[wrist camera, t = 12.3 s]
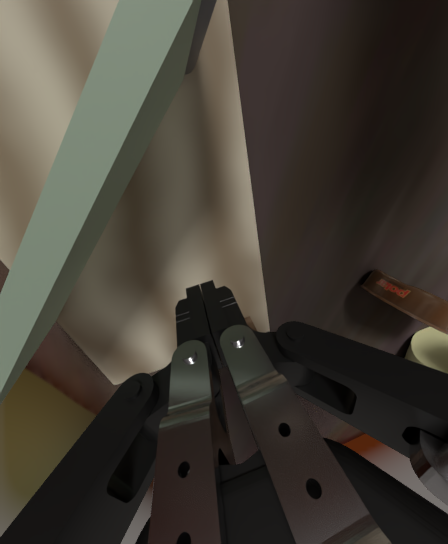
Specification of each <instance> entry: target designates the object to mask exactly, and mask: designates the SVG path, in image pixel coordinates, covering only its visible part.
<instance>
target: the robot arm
mask: <svg viewBox="0 0 448 544" xmlns="http://www.w3.org/2000/svg"><path fill="white" fill-rule="evenodd" d="M200 287H201V288H200ZM186 295H187V298H185V299H182V300H179V301H178V303H177V305H176V307H175V314H176V334H177V349H176V350H175V351H174V353H173V356H172V361H171V362H170V363H169V364H168V365H167V366H166V367H165V368H164V369H162V370H161V371H159V372H158V373H156V374H155V375H153V376H152V377H151V376H150V375H149V374H147V373H138V374H135V375H133V376H131V377H129V378H128V379H127V380H126V381H125V382H123V384H122V385H121V386H120V387H119V388H118V390H117V391H116V392H115V393H114V395H113V396H112V397H111V398H110V400H109V401H108V402H107V403H106V405H105V406H104V407H103V408H102V410H101V411H100V412H99V414H98V415H97V416H96V417H95V419H94V420H93V421H92V422H91V424H90V425H89V426H88V428H87V429H86V430H85V431H84V432H83V434H82V435H81V436H80V438H79V439H78V440H77V441H76V443H75V444H74V445H73V446H72V448H71V449H70V450H69V452H68V453H67V454H66V455H65V457H64V458H63V459H62V460H61V462H60V463H59V464H58V465H57V467H56V468H55V469H54V470H53V472H52V473H51V474H50V475H49V477H48V478H47V479H46V480H45V482H44V483H43V484H42V485H41V487H40V488H39V489H38V491H37V492H36V493H35V494H34V496H33V497H32V498H31V499H30V501H29V502H28V503H27V505H26V506H25V507H24V508H23V509H22V511H21V512H20V513H19V515H18V516H17V517H16V518H15V520H14V521H13V522H12V523H11V525H10V526H9V527H8V528H7V530H6V531H5V532H4V533H3V535H2V536H1V537H0V544H120V543H121V541H122V539H123V537H124V535H125V533H126V531H127V529H128V527H129V526H130V524H131V521H132V520H133V518H134V516H135V514H136V512H137V510H138V508H139V506H140V504H141V502H142V500H143V498H144V496H145V494H146V492H147V490H148V488H149V486H150V484H151V482H152V480H153V478H154V485H153V496H152V506H151V516H150V518H149V519H148V521H147V522H146V524H145V526H144V528H143V530H142V531H141V533H140V535H139V537H138V539H137V542H136V543H135V544H448V514H447V513H446V512H444V511H443V510H441V509H440V508H438V507H437V506H435V505H434V504H432V503H431V502H429V501H428V500H426V499H425V498H423V497H422V496H420V495H419V494H417V493H416V492H414V491H413V490H411V489H410V488H408V487H407V486H405V485H404V484H402V483H401V482H399V481H398V480H396V479H395V478H393V477H392V476H390V475H389V474H387V473H386V472H384V471H382V470H381V469H380V468H378V467H377V466H375V465H374V464H372V463H371V462H369V461H368V460H366V459H365V458H364V457H362V456H361V455H359V454H358V453H356V452H355V451H353V450H351V449H350V448H348V447H346V446H344V445H342V444H340V443H338V442H335V441H333V440H330V439H327V438H323V437H322V436H321V434H320V432H319V431H318V429H317V427H316V426H315V424H314V423H313V421H312V419H311V418H310V416H309V415H308V413H307V411H306V410H305V408H304V406H303V405H302V403H301V402H300V400H299V398H298V397H297V395H299V396H301V397H303V398H304V399H306V400H308V401H310V402H311V403H313V404H315V405H317V406H319V407H320V408H322V409H324V410H326V411H327V412H329V413H331V414H333V415H334V416H336V417H338V418H340V419H341V420H343V421H345V422H347V423H348V424H350V425H352V426H354V427H355V428H357V429H359V430H361V431H362V432H364V433H366V434H368V435H370V436H371V437H373V438H375V439H376V440H378V441H380V442H382V443H383V444H385V445H387V446H389V447H391V448H392V449H394V450H396V451H398V452H399V453H401V454H403V455H405V456H406V457H408V458H410V462H411V465H412V468H413V470H414V472H415V474H416V475H417V477H418V478H419V480H420V481H421V482H422V483H423V485H424V486H425V487H426V488H427V489H428V490H429V491H430V492H431V493H432V494H433V495H434V496H436V497H437V498H438V499H440V500H441V501H442V502H444V503H445V504H446V505H448V373H445V372H442V371H439V370H436V369H433V368H430V367H428V366H425V365H422V364H419V363H416V362H413V361H410V360H408V359H405V358H402V357H399V356H396V355H393V354H390V353H387V352H385V351H382V350H379V349H376V348H373V347H370V346H367V345H365V344H362V343H359V342H356V341H353V340H350V339H347V338H345V337H342V336H339V335H336V334H333V333H330V332H327V331H325V330H322V329H319V328H316V327H313V326H310V325H307V324H304V323H301V322H296V321H292V322H287V323H284V324H283V325H281V326H280V327H279V328H278V330H277V332H267V333H263V332H258V331H255V330H253V329H251V328H250V327H249V326H248V325H247V323H246V321H245V319H244V317H243V314H242V312H241V310H240V308H239V306H238V304H237V301H236V299H235V298H234V295H233V293H232V291H231V290H230V289H229V288H228V287H226V286H222V287H219V288H215V285H214V282H213V280H211V281H207V282H204V283H201V284H200V286H199V284H198V285H195V286H192V287H189V288H186ZM220 356H221V358H220ZM221 359H222V362H223V365H224V367H226V366H228V369H229V371H230V374H231V377H232V380H233V383H234V386H235V389H236V391H237V394H238V397H239V399H240V402H241V405H242V407H243V410H244V413H245V415H246V418H247V421H248V423H249V426H250V429H251V432H252V434H253V437H254V440H255V443H256V445H257V448H258V451H257V452H256V453H255V454H254V455H252V456H251V457H250V458H249V459H248V460H246V461H245V462H244V463H242V464H237V465H236V462H235V457H234V452H233V448H232V444H231V441H230V436H229V430H228V424H227V417H226V411H225V404H224V398H223V391H222V386H221V380H220V375H219V371H218V369H221V368H223V366H222V362H221ZM295 393H296V394H297V395H296V394H295Z"/></svg>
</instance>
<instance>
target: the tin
mask: <svg viewBox="0 0 448 544" xmlns="http://www.w3.org/2000/svg"><path fill="white" fill-rule="evenodd" d="M360 287H361V288H363V289H364V290H366V291H367V292H369V293H370V294H372V295H374V296H375V297H377V298H379V299H380V300H382V301H384V302H386V303H387V304H389V305H391V306H393V307H395V308H396V309H398V310H400V311H402V312H403V313H405V314H407V315H409V316H411V317H412V318H414V319H416V320H418V321H420V322H422V323H424V324H426V325H428V326H430V327H432V328H434V329H436V330H438V331H440V332H443V333H445V334H447V335H448V301H446V300H443V299H441V298H439V297H437V296H435V295H433V294H431V293H428V292H426V291H424V290H422V289H419V288H416V287H413V286H409V285H406V284H404V283H402V282H400V281H399V280H397V279H395V278H393V277H391V276H389V275H387V274H385V273H384V272H382V271H380V270H377V269H376V270H374V271H373V272H372V273H371V274H370V276H369V277H368V278H367V279H366V281H365V282H364V283H363V285H361V286H360Z"/></svg>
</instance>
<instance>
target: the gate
mask: <svg viewBox="0 0 448 544" xmlns="http://www.w3.org/2000/svg"><path fill="white" fill-rule="evenodd" d="M216 1H217V0H119V2H118V4H117V7H116V9H115V12H114V14H113V16H112V19H111V21H110V24H109V26H108V29H107V31H106V34H105V36H104V39H103V41H102V44H101V46H100V49H99V51H98V54H97V56H96V59H95V61H94V64H93V66H92V68H91V71H90V73H89V76H88V78H87V81H86V83H85V86H84V88H83V91H82V93H81V96H80V98H79V101H78V103H77V106H76V108H75V111H74V113H73V116H72V118H71V120H70V123H69V125H68V128H67V130H66V133H65V135H64V138H63V140H62V143H61V145H60V148H59V150H58V153H57V155H56V158H55V160H54V163H53V165H52V168H51V170H50V172H49V175H48V177H47V180H46V182H45V185H44V187H43V190H42V192H41V195H40V197H39V200H38V202H37V205H36V207H35V210H34V212H33V215H32V217H31V220H30V222H29V224H28V227H27V229H26V232H25V234H24V237H23V239H22V242H21V244H20V247H19V249H18V252H17V254H16V257H15V259H14V262H13V264H12V267H11V269H10V272H9V274H8V276H7V279H6V281H5V284H4V286H3V289H2V291H1V294H0V404H1V403H2V401H3V400H4V398H5V397H6V395H7V394H8V392H9V391H10V389H11V388H12V386H13V385H14V383H15V382H16V380H17V379H18V377H19V376H20V374H21V372H22V371H23V370H24V368H25V367H26V365H27V364H28V362H29V361H30V359H31V358H32V356H33V355H34V353H35V352H36V350H37V349H38V347H39V346H40V344H41V343H42V341H43V340H44V338H45V337H46V335H47V334H48V332H49V331H50V329H51V328H52V326H53V325H54V323H55V322H56V320H57V318H58V316H59V314H60V312H61V310H62V308H63V307H64V305H65V303H66V301H67V299H68V297H69V295H70V293H71V291H72V290H73V288H74V286H75V284H76V282H77V280H78V278H79V276H80V274H81V273H82V271H83V269H84V267H85V265H86V263H87V261H88V259H89V257H90V255H91V254H92V252H93V250H94V248H95V246H96V244H97V242H98V240H99V238H100V237H101V235H102V233H103V231H104V229H105V227H106V225H107V223H108V221H109V219H110V218H111V216H112V214H113V212H114V210H115V208H116V206H117V204H118V202H119V201H120V199H121V197H122V195H123V193H124V191H125V189H126V187H127V185H128V184H129V182H130V180H131V178H132V176H133V174H134V172H135V170H136V168H137V166H138V165H139V163H140V161H141V159H142V157H143V155H144V153H145V151H146V149H147V148H148V146H149V144H150V142H151V140H152V138H153V136H154V134H155V132H156V131H157V129H158V127H159V125H160V123H161V121H162V119H163V117H164V115H165V113H166V112H167V110H168V108H169V106H170V104H171V102H172V100H173V98H174V96H175V95H176V93H177V91H178V89H179V87H180V85H181V83H182V81H183V79H184V75H187V74H189V73H191V72H192V71H193V69H194V68H195V65H196V62H197V59H198V56H199V53H200V50H201V47H202V44H203V41H204V38H205V35H206V32H207V29H208V26H209V23H210V19H211V16H212V13H213V10H214V7H215V4H216Z"/></svg>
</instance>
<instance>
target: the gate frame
mask: <svg viewBox="0 0 448 544" xmlns="http://www.w3.org/2000/svg"><path fill="white" fill-rule="evenodd" d="M118 2H119V0H0V260H1V261H2V262H3V263H4V264H5V265H6V266H7V268H8V269H9V270H10V269H11V267H12V264H13V262H14V259H15V257H16V254H17V252H18V249H19V247H20V244H21V242H22V239H23V237H24V234H25V232H26V229H27V227H28V224H29V222H30V220H31V217H32V215H33V212H34V210H35V207H36V205H37V202H38V200H39V197H40V195H41V192H42V190H43V187H44V185H45V182H46V180H47V177H48V175H49V172H50V170H51V168H52V165H53V163H54V160H55V158H56V155H57V153H58V150H59V148H60V145H61V143H62V140H63V138H64V135H65V133H66V130H67V128H68V125H69V123H70V120H71V118H72V116H73V113H74V111H75V108H76V106H77V103H78V101H79V98H80V96H81V93H82V91H83V88H84V86H85V83H86V81H87V78H88V76H89V73H90V71H91V68H92V66H93V64H94V61H95V59H96V56H97V54H98V51H99V49H100V46H101V44H102V41H103V39H104V36H105V34H106V31H107V29H108V26H109V24H110V21H111V19H112V16H113V14H114V12H115V9H116V7H117V4H118ZM211 280H213V282H214V285H215V288H219V287H222V286H226V287H228V288H229V289H230V290H231V291H232V293H233V295H234V298H235V299H236V301H237V304H238V306H239V308H240V310H241V312H242V314H243V317H244V319H245V321H246V323H247V325H248V326H249V327H250V328H251V329H253V330H255V331H258V332H263V333H265V332H268V331H270V328H269V320H268V313H267V305H266V297H265V289H264V282H263V274H262V266H261V258H260V250H259V243H258V235H257V227H256V219H255V211H254V204H253V196H252V188H251V180H250V173H249V165H248V157H247V149H246V141H245V134H244V126H243V118H242V110H241V103H240V95H239V87H238V79H237V71H236V64H235V56H234V48H233V40H232V33H231V25H230V17H229V9H228V1H227V0H217V1H216V4H215V7H214V10H213V13H212V16H211V19H210V23H209V26H208V29H207V32H206V35H205V38H204V41H203V44H202V47H201V50H200V53H199V56H198V59H197V62H196V65H195V68H194V69H193V71H192V72H191V73H189V74H187V75H184V79H183V81H182V83H181V85H180V87H179V89H178V91H177V93H176V95H175V96H174V98H173V100H172V102H171V104H170V106H169V108H168V110H167V112H166V113H165V115H164V117H163V119H162V121H161V123H160V125H159V127H158V129H157V131H156V132H155V134H154V136H153V138H152V140H151V142H150V144H149V146H148V148H147V149H146V151H145V153H144V155H143V157H142V159H141V161H140V163H139V165H138V166H137V168H136V170H135V172H134V174H133V176H132V178H131V180H130V182H129V184H128V185H127V187H126V189H125V191H124V193H123V195H122V197H121V199H120V201H119V202H118V204H117V206H116V208H115V210H114V212H113V214H112V216H111V218H110V219H109V221H108V223H107V225H106V227H105V229H104V231H103V233H102V235H101V237H100V238H99V240H98V242H97V244H96V246H95V248H94V250H93V252H92V254H91V255H90V257H89V259H88V261H87V263H86V265H85V267H84V269H83V271H82V273H81V274H80V276H79V278H78V280H77V282H76V284H75V286H74V288H73V290H72V291H71V293H70V295H69V297H68V299H67V301H66V303H65V305H64V307H63V308H62V310H61V312H60V314H59V316H58V318H57V320H56V322H57V323H58V324H59V325H60V326H61V327H62V328H63V329H64V330H65V332H66V333H67V334H68V335H69V336H70V337H71V338H72V339H73V340H74V341H75V343H76V344H77V345H78V346H79V347H80V348H81V349H82V350H83V351H84V352H85V354H86V355H87V356H88V357H89V358H90V359H91V360H92V361H93V362H94V364H95V365H96V366H97V367H98V368H99V369H100V370H101V371H102V372H103V373H104V375H105V376H106V377H107V378H108V379H109V380H110V381H111V382H112V383H113V384H114V385H117V384H120V383H123V382H125V381H126V380H127V379H128V378H129V377H131V376H133V375H135V374H138V373H147V374H148V373H151V372H154V371H157V370H160V369H163V368H165V367H166V366H167V365H168V364H169V363H170V362H171V361H172V356H173V353H174V351H175V350H176V349H177V334H176V314H175V307H176V305H177V303H178V301H179V300H182V299H185V298H187V295H186V288H189V287H192V286H195V285H198V284H199V286H200V284H201V283H204V282H207V281H211ZM200 288H201V287H200Z"/></svg>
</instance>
